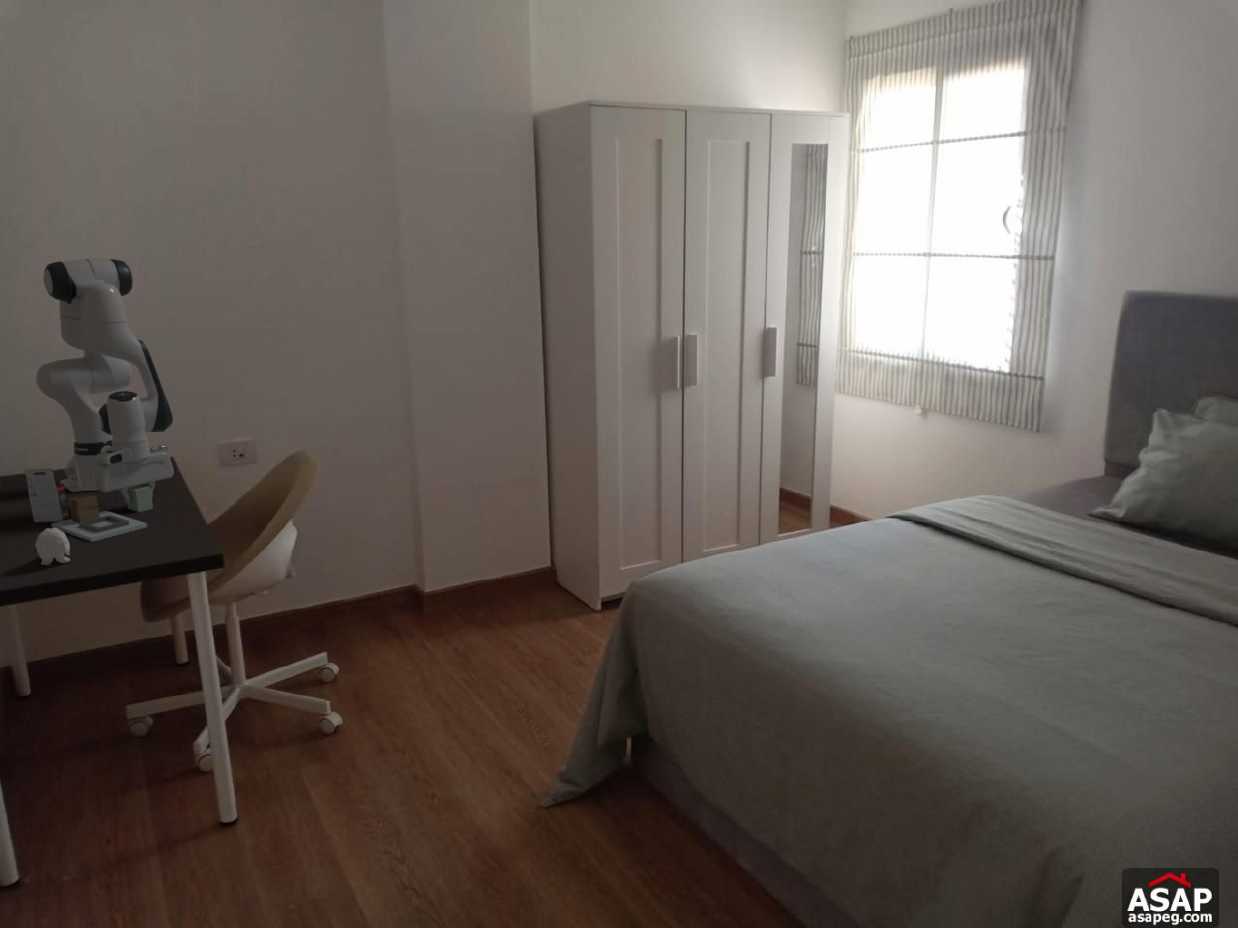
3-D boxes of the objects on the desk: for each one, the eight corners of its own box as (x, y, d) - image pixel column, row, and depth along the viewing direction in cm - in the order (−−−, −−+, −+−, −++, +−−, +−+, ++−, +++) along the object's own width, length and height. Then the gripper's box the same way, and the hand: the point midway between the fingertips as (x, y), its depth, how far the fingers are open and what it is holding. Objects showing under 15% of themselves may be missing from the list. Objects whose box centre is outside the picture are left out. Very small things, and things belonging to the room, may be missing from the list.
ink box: (41, 518, 261) (31, 466, 257) (70, 518, 260) (61, 465, 257) (33, 522, 257) (23, 469, 253) (62, 522, 257) (53, 468, 253)
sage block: (128, 508, 268) (124, 487, 266) (142, 505, 271) (139, 484, 269) (139, 512, 264) (135, 490, 263) (153, 508, 267) (150, 487, 266)
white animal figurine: (31, 532, 218) (41, 523, 229) (37, 569, 220) (47, 558, 231) (63, 528, 221) (71, 519, 232) (68, 565, 222) (77, 554, 233)
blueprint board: (51, 527, 252) (47, 501, 251) (106, 514, 263) (102, 489, 261) (91, 541, 239) (87, 514, 238) (147, 527, 250) (143, 501, 248)
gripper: (162, 442, 273) (169, 489, 277) (88, 457, 258) (96, 507, 261) (174, 445, 270) (181, 493, 273) (99, 460, 254) (108, 510, 257)
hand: (139, 500), depth 267 cm, fingers closed on sage block, 4 cm apart
